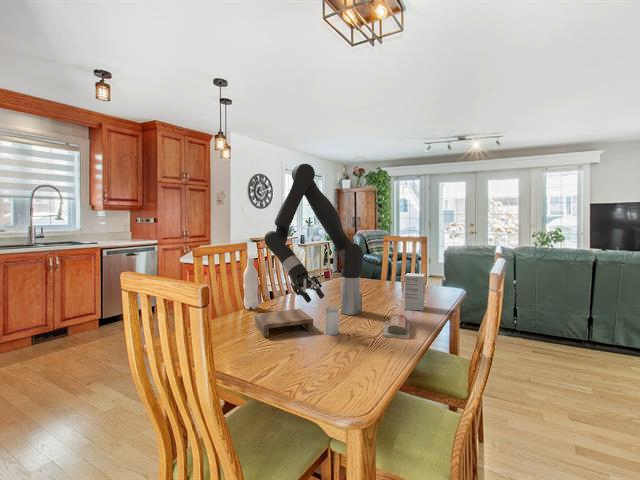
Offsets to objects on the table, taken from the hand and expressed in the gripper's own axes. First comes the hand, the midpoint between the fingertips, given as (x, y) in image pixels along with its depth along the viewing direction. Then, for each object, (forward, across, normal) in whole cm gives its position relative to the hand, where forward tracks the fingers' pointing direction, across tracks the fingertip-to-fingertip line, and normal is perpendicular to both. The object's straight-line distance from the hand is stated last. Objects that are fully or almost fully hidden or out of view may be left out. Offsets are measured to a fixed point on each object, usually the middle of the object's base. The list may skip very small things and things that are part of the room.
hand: (316, 299), depth 142 cm
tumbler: (+14, 0, +3) cm, 14 cm away
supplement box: (+22, +55, -5) cm, 59 cm away
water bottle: (-24, +5, +41) cm, 48 cm away
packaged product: (+28, +18, -10) cm, 35 cm away
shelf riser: (+1, -7, +17) cm, 18 cm away
